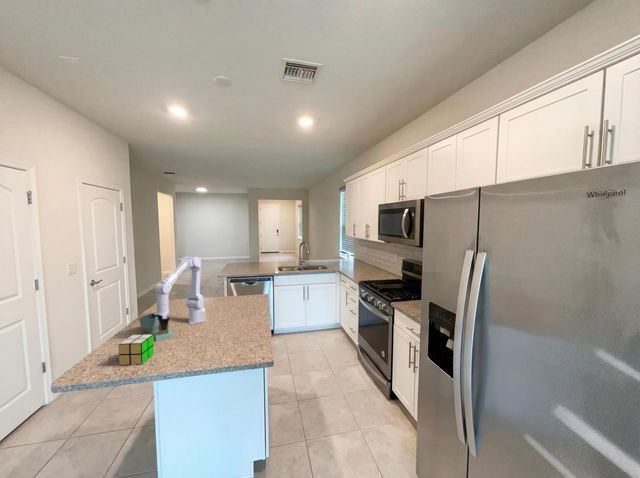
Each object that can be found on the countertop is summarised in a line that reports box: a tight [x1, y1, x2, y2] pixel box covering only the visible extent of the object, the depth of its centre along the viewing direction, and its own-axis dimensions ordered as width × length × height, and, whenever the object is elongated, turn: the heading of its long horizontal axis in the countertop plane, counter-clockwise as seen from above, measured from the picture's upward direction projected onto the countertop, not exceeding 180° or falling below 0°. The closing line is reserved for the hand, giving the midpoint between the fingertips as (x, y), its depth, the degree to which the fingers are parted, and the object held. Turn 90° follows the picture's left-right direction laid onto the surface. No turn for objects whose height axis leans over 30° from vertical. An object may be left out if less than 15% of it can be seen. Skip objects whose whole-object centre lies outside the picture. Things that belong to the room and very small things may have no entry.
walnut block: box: [158, 322, 170, 335], centre depth 145 cm, size 4×4×6 cm
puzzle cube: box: [118, 334, 155, 366], centre depth 120 cm, size 10×10×10 cm
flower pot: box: [138, 312, 159, 333], centre depth 154 cm, size 9×9×9 cm
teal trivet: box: [153, 328, 174, 342], centre depth 145 cm, size 8×8×3 cm
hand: (163, 327), depth 145 cm, fingers open, 7 cm apart
